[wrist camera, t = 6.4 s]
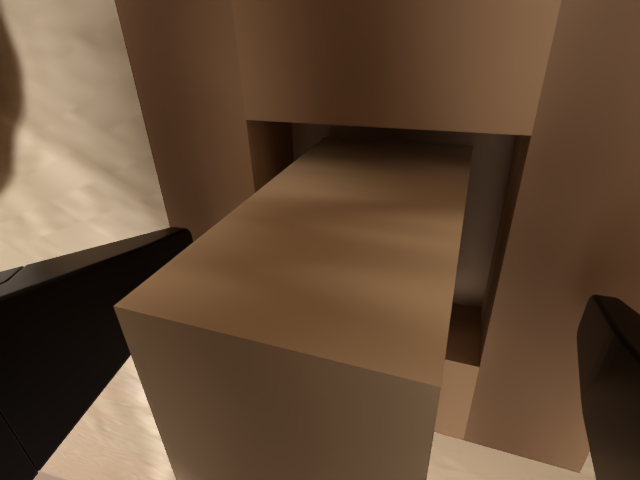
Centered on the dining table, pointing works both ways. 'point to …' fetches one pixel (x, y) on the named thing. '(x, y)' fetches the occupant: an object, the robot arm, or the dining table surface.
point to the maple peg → (309, 320)
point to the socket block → (434, 128)
